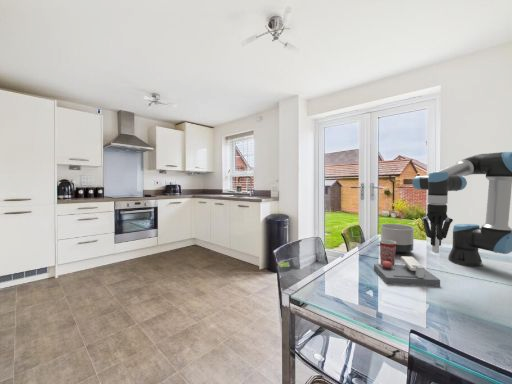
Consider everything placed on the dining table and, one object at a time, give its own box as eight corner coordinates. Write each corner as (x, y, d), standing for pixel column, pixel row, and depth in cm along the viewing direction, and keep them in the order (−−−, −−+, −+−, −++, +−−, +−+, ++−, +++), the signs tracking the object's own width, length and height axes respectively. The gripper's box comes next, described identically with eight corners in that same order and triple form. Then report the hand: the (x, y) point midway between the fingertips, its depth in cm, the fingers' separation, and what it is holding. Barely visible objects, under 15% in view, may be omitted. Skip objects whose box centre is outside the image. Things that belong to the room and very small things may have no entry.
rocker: (412, 259, 130) (412, 256, 129) (424, 271, 118) (424, 268, 118) (400, 258, 130) (400, 256, 130) (411, 270, 119) (411, 267, 119)
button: (389, 265, 129) (389, 261, 129) (392, 268, 125) (393, 264, 124) (381, 265, 130) (381, 260, 129) (384, 268, 125) (384, 263, 125)
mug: (392, 267, 134) (393, 244, 134) (376, 263, 141) (376, 241, 141) (400, 262, 143) (401, 240, 142) (385, 258, 149) (385, 237, 149)
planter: (419, 256, 152) (420, 229, 151) (390, 256, 153) (390, 230, 151) (401, 247, 172) (402, 223, 170) (375, 247, 172) (376, 223, 171)
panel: (419, 270, 129) (420, 262, 129) (440, 286, 112) (440, 275, 111) (374, 269, 133) (374, 260, 133) (386, 283, 115) (386, 273, 115)
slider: (421, 275, 116) (421, 265, 115) (424, 278, 113) (424, 268, 113) (415, 275, 116) (415, 265, 116) (418, 277, 113) (418, 267, 113)
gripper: (447, 203, 114) (445, 250, 115) (418, 203, 116) (416, 249, 117) (457, 204, 106) (455, 255, 108) (426, 204, 109) (425, 254, 110)
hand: (435, 252), depth 113 cm, fingers closed
